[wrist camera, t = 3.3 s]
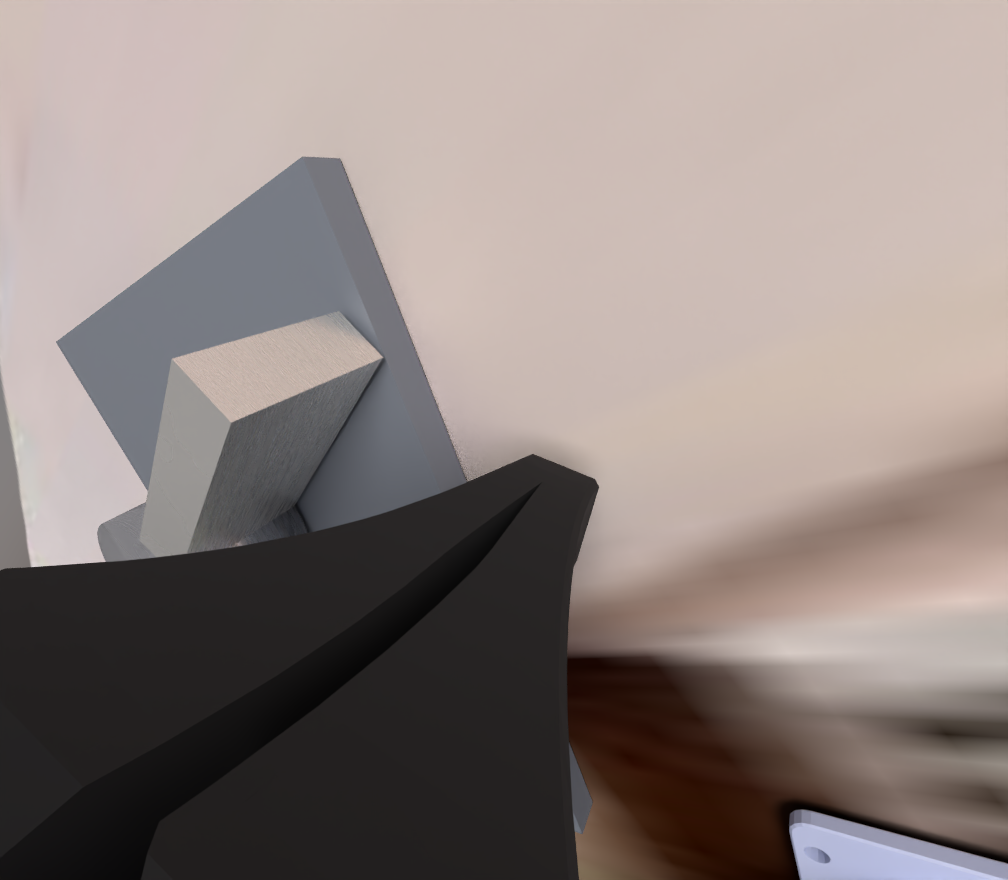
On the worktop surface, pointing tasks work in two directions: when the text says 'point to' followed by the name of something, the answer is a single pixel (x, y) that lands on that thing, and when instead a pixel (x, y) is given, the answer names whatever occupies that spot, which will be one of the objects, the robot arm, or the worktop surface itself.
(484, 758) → the robot arm
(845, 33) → the worktop surface
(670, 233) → the worktop surface
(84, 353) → the plate
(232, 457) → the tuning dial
